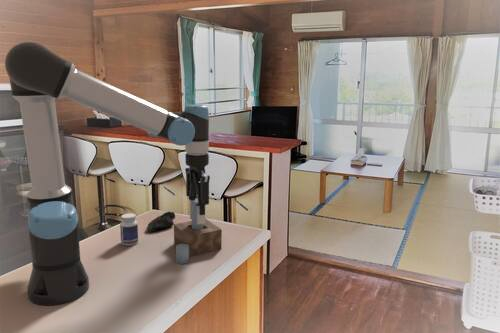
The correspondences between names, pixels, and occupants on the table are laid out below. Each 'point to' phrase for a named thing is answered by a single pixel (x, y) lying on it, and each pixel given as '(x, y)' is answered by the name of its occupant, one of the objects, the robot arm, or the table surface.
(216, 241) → the sleeve block
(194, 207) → the long dowel
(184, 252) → the grey rounded cylinder
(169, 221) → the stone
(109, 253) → the table surface
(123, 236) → the pill bottle
